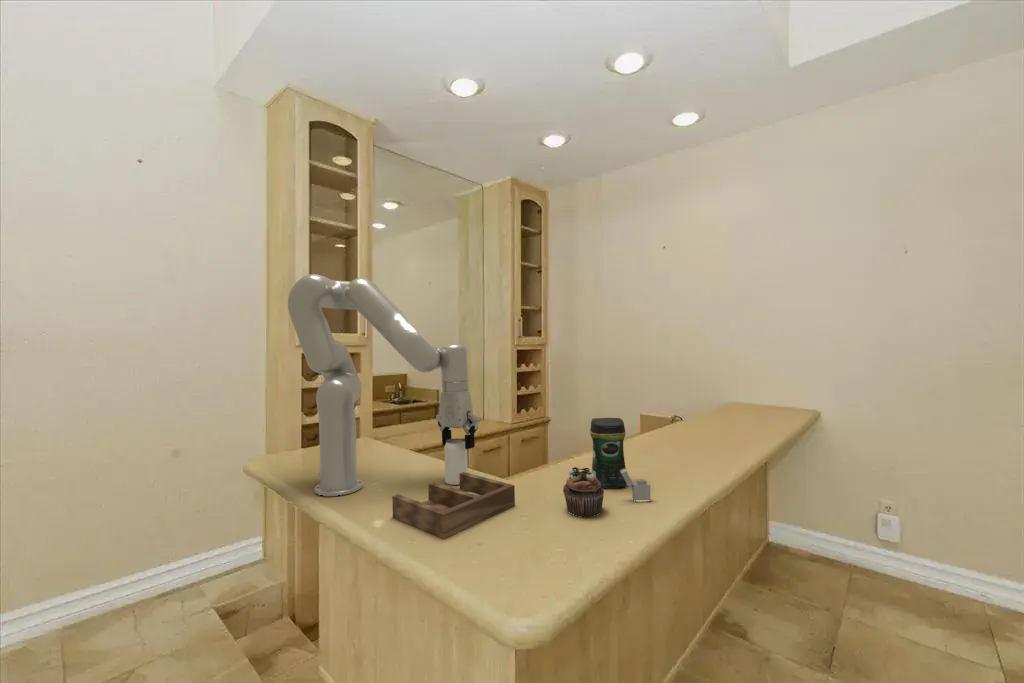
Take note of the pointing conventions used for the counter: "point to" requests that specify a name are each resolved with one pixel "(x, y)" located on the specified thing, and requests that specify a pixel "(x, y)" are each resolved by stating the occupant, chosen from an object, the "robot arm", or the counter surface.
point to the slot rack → (455, 505)
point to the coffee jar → (608, 451)
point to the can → (455, 460)
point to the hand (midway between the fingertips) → (458, 446)
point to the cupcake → (583, 493)
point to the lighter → (637, 487)
